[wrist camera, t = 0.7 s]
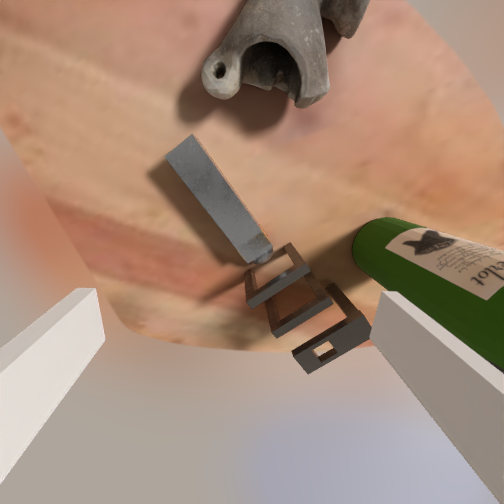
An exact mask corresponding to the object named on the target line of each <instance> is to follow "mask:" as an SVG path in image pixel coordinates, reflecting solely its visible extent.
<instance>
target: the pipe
mask: <svg viewBox="0 0 504 504" xmlns="http://www.w3.org/2000/svg"><path fill="white" fill-rule="evenodd" d="M369 2H370V0H247V2H246V4H245V5H244V7H243V9H242V11H241V12H240V14H239V16H238V18H237V20H236V22H235V23H234V25H233V26H232V28H231V29H230V30H229V32H228V34H227V35H226V37H225V38H224V40H223V42H222V43H221V45H220V46H219V47H218V48H217V49H216V50H215V51H214V52H213V53H212V54H211V55H210V56H209V57H208V58H207V59H206V60H205V61H204V63H203V66H202V74H201V78H202V83H203V86H204V88H205V89H206V90H207V92H208V93H209V94H211V95H212V96H214V97H217V98H219V99H229V98H231V97H233V96H234V95H235V94H236V93H237V92H238V90H239V89H240V87H241V85H242V84H243V83H246V84H250V85H253V86H256V87H259V88H261V89H264V90H267V91H269V90H271V89H272V87H273V86H274V87H276V88H279V89H280V90H282V91H284V92H285V93H287V96H288V97H289V98H291V99H292V100H293V101H295V106H296V107H297V108H307V107H308V106H310V105H312V104H313V103H315V102H317V101H319V100H321V99H322V98H323V97H324V96H325V95H326V93H327V92H328V91H329V88H330V85H329V78H328V66H327V57H326V48H325V40H324V33H323V27H322V20H321V16H322V17H324V18H327V19H329V20H331V21H332V22H333V23H334V25H335V28H336V30H337V31H338V33H339V34H341V35H342V36H343V37H345V38H347V39H350V38H352V36H353V35H354V34H355V32H356V30H357V28H358V26H359V24H360V22H361V20H362V18H363V16H364V14H365V11H366V9H367V7H368V4H369Z"/></svg>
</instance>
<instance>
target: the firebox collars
mask: <svg viewBox="0 0 504 504" xmlns="http://www.w3.org/2000/svg"><path fill="white" fill-rule="evenodd" d="M284 248H285V250H286V252H287V253H288V255H289V257H290V258H291V260H292V261H293V263H294V266H292V267H291V268H289V269H288V270H286V271H285V272H283V273H282V274H280V275H279V276H277V277H276V278H274V279H273V280H271V281H270V282H268V283H266V284H265V285H263V286H262V287H260V288H259V289H257V283H256V278H255V275H254V273H253V272H252V271H251V269H250V270H249V271H247V272H246V273H245V274H244V279H245V293H246V303H247V304H248V305H249V306H250V307H251V309H253V308H255V307H256V306H258V305H259V304H261V303H262V302H264V301H265V304H266V309H267V313H268V318H269V323H270V327H271V332H272V334H273V335H274V336H275V337H276V338H279V337H280V336H282V335H284V334H285V333H287V332H289V331H290V330H292V329H293V328H295V327H297V326H298V325H300V324H302V323H303V322H305V321H306V320H308V319H310V318H311V317H313V316H315V315H316V314H318V313H319V312H321V311H323V310H324V309H326V308H328V307H329V306H331V305H332V304H333V302H332V301H331V299H330V298H329V296H328V295H327V294H326V292H325V291H324V289H323V288H322V287H321V285H320V284H319V283H318V281H317V280H316V279H315V277H314V276H313V274H312V273H311V272H310V271H311V270H310V268H309V267H308V265H307V264H306V263H305V261H304V260H303V259H302V257H301V256H300V255H299V253H298V252H297V251H296V249H295V248H294V247H293V245H292V244H291V243H289V244H287V245H286V246H284ZM302 276H304V277H305V279H306V280H307V282H308V283H309V285H310V287H311V288H312V290H313V291H314V293H315V294H316V296H317V298H315V299H314V300H312V301H310V302H309V303H307V304H306V305H304V306H302V307H301V308H299V309H298V310H296V311H294V312H293V313H291V314H290V315H288V316H287V317H285V318H283V319H282V320H280V316H279V313H278V310H277V306H276V303H275V300H274V299H273V297H272V296H273V295H275V294H276V293H278V292H279V291H281V290H282V289H284V288H285V287H287V286H288V285H290V284H292V283H293V282H295V281H296V280H298V279H299V278H301V277H302ZM326 290H327V291H328V293H329V294H330V295H331V297H332V298H333V299H334V301H335V302H336V303H337V305H338V306H339V307H340V309H341V310H342V311H343V313H344V314H345V315H346V317H347V318H345V319H344V320H342V321H340V322H339V323H337V324H335V325H334V326H332V327H330V328H329V329H327V330H325V331H324V332H322V333H320V334H319V335H317V336H315V337H314V338H312V339H310V340H309V341H307V342H305V343H304V344H302V345H300V346H299V347H297V348H295V349H294V350H292V354H293V357H294V358H295V359H296V361H297V362H298V363H299V364H300V365H301V367H302V368H303V369H304V370H305V371H306V373H307V374H309V373H311V372H313V371H315V370H317V369H318V368H320V367H322V366H324V365H325V364H327V363H329V362H331V361H332V360H334V359H336V358H337V357H339V356H341V355H343V354H344V353H346V352H348V351H350V350H351V349H353V348H355V347H357V346H358V345H360V344H362V343H363V342H365V341H367V340H369V339H370V338H369V336H370V333H371V329H372V327H371V326H370V324H369V323H368V321H367V319H366V318H365V316H364V315H363V314H362V313H361V311H360V310H359V311H358V309H357V308H356V307H355V306H354V305H353V304H352V303H351V301H350V300H349V299H348V298H347V297H346V296H345V295H344V293H343V292H342V291H341V290H340V289H339V288H338V286H337V285H336V284H335V283H333V284H331V285H330V286H328V287H327V288H326ZM328 340H329V342H330V343H331V344H332V346H333V347H334V348H333V349H331V350H329V351H327V352H326V353H324V354H322V355H321V356H319V357H318V355H317V354H316V353H315V351H314V350H313V349H315V348H317V347H318V346H320V345H322V344H323V343H325V342H327V341H328Z"/></svg>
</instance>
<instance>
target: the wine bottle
mask: <svg viewBox="0 0 504 504" xmlns="http://www.w3.org/2000/svg"><path fill="white" fill-rule="evenodd" d="M352 252H353V257H354V260H355V263H356V264H357V265H358V267H359V268H360V269H362V270H363V271H364V272H365V273H367V274H368V275H369V276H370V277H372V278H373V279H374V280H375V281H377V282H378V283H379V284H380V285H382V286H383V287H384V288H386V289H387V290H388V291H397V292H398V293H399V294H401V295H402V296H403V297H405V298H406V299H407V300H408V301H410V302H411V303H412V304H414V305H415V306H416V307H418V308H419V309H420V310H421V311H423V312H424V313H425V314H427V315H428V316H429V317H430V318H432V319H433V320H434V321H436V322H437V323H438V324H440V325H441V326H442V327H443V328H445V329H446V330H447V331H449V332H450V333H451V334H453V335H454V336H455V337H456V338H458V339H459V340H460V341H462V342H463V343H464V344H466V345H467V346H468V347H469V348H471V349H472V350H473V351H475V352H476V353H477V354H479V355H480V356H482V357H484V358H486V359H487V360H489V361H491V362H493V363H495V364H496V365H498V366H500V367H501V368H502V369H504V251H502V250H499V249H496V248H492V247H489V246H486V245H483V244H479V243H476V242H473V241H469V240H466V239H463V238H459V237H456V236H453V235H449V234H446V233H443V232H439V231H436V230H433V229H429V228H426V227H423V226H419V225H416V224H413V223H409V222H406V221H403V220H400V219H396V218H390V217H385V218H380V219H376V220H373V221H371V222H369V223H368V224H366V225H365V226H364V227H363V228H362V229H361V230H360V231H359V232H358V234H357V236H356V237H355V239H354V243H353V247H352Z"/></svg>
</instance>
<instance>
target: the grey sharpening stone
mask: <svg viewBox="0 0 504 504" xmlns="http://www.w3.org/2000/svg"><path fill="white" fill-rule="evenodd" d="M165 158H166V160H167V161H168V162H169V164H170V165H171V166H172V167H173V169H174V170H175V171H176V172H177V174H178V175H179V176H180V178H181V179H182V180H183V181H184V183H185V184H186V185H187V187H188V188H189V189H190V190H191V192H192V193H193V194H194V195H195V197H196V198H197V199H198V201H199V202H200V203H201V204H202V206H203V207H204V208H205V210H206V211H207V212H208V213H209V215H210V216H211V217H212V218H213V220H214V221H215V222H216V224H217V225H218V226H219V227H220V229H221V230H222V231H223V233H224V234H225V235H226V236H227V238H228V239H229V240H230V241H231V243H232V244H233V245H234V247H235V248H236V250H237V251H238V252H239V254H240V255H241V256H242V257H243V259H244V260H245V261H246V262H247V263H250V262H252V263H254V264H264V263H266V262H267V261H269V260H270V258H271V257H272V254H273V246H272V243H271V241H270V239H269V238H268V236H267V234H266V233H265V231H264V230H263V229H262V227H261V226H260V224H258V222H257V221H256V219H255V218H254V217H253V215H252V214H251V212H250V211H249V210H248V208H247V207H246V205H245V204H244V203H243V201H242V200H241V198H240V197H239V196H238V194H237V193H236V191H235V190H234V189H233V187H232V186H231V184H230V183H229V182H228V180H227V179H226V177H225V176H224V175H223V173H222V172H221V170H220V169H219V168H218V166H217V165H216V163H215V162H214V161H213V159H212V158H211V156H210V155H209V154H208V152H207V151H206V149H205V148H204V147H203V145H202V144H201V142H200V141H199V140H198V138H196V137H195V136H194V135H193V134H192V135H190V136H189V137H188V138H187V139H185V140H184V141H183V142H182V143H181V144H179V145H178V146H177V147H176V148H174V149H173V150H172V151H171V152H169V153H168V154H167V155H166V156H165Z"/></svg>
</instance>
